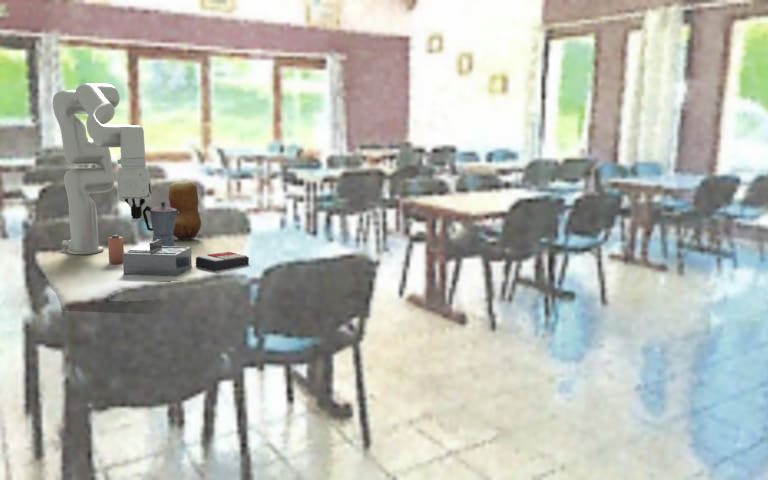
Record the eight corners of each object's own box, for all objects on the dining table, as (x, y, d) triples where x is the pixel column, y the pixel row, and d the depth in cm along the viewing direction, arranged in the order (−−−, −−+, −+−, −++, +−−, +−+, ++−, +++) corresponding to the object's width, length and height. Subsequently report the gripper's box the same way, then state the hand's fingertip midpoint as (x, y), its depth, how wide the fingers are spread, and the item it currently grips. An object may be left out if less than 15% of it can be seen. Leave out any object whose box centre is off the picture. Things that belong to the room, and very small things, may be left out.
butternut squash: (163, 239, 283) (161, 180, 279) (192, 235, 292) (190, 178, 288) (178, 244, 273) (176, 182, 269) (208, 240, 282) (206, 181, 278)
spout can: (106, 263, 236) (105, 236, 234) (114, 260, 242) (112, 233, 240) (120, 264, 236) (118, 237, 234) (127, 260, 242) (126, 234, 240)
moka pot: (174, 258, 247) (172, 204, 244) (136, 255, 250) (133, 202, 247) (187, 253, 256) (185, 201, 253) (150, 250, 259) (147, 199, 256)
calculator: (249, 255, 240) (215, 259, 228) (249, 266, 240) (215, 272, 228) (229, 250, 246) (195, 255, 234) (229, 262, 247) (195, 267, 235)
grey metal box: (123, 274, 222) (122, 252, 221) (141, 264, 236) (140, 244, 234) (176, 276, 221) (175, 254, 219) (191, 266, 234) (191, 246, 233)
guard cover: (129, 251, 223) (128, 242, 223) (140, 246, 232) (139, 238, 231) (152, 252, 223) (152, 243, 222) (162, 247, 231) (162, 238, 231)
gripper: (106, 163, 219) (109, 219, 222) (150, 164, 218) (153, 220, 221) (116, 162, 226) (120, 216, 229) (160, 162, 225) (162, 217, 228)
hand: (136, 218), depth 225 cm, fingers closed
